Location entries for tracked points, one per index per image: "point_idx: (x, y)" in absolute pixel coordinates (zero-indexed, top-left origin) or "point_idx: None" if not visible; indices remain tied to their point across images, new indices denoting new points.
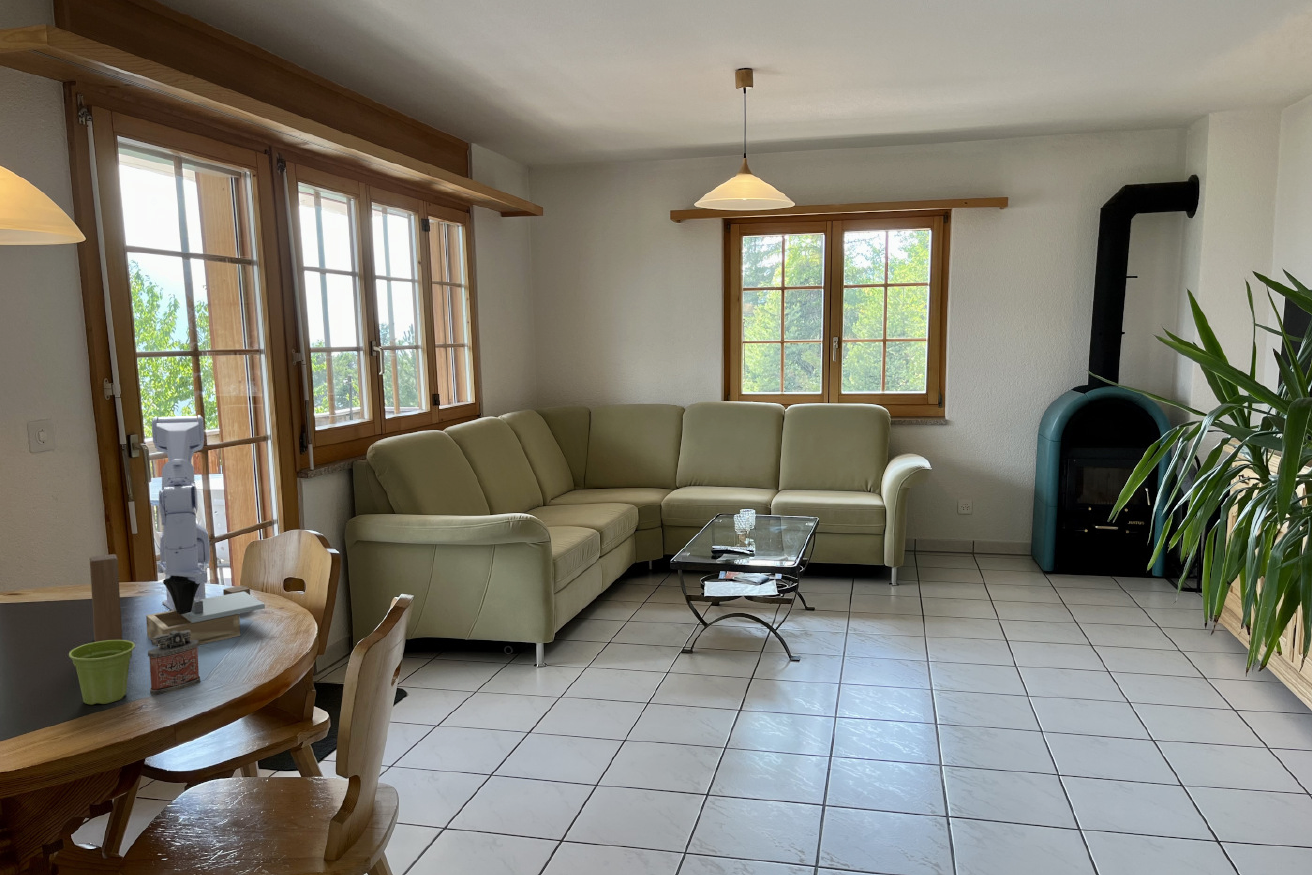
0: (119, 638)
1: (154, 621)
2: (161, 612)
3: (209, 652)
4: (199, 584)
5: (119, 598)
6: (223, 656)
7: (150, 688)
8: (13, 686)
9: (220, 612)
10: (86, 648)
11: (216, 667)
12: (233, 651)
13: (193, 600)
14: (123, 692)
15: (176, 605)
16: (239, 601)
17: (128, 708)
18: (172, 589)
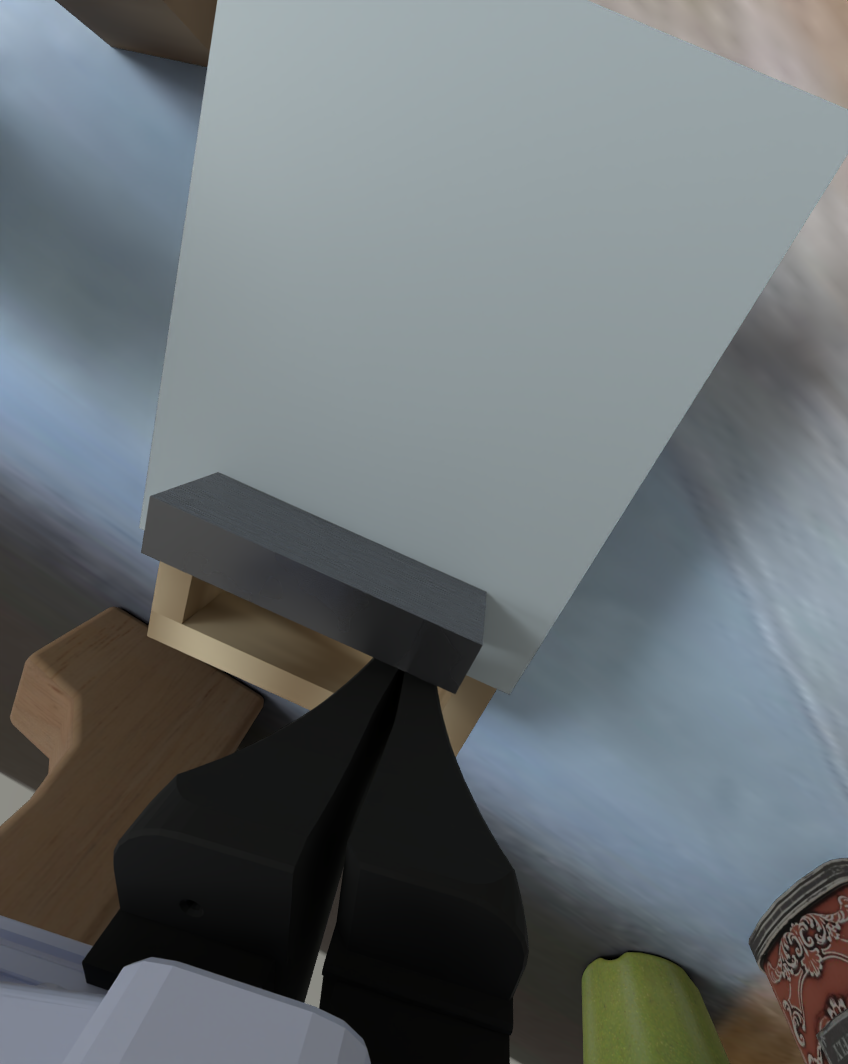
0: (244, 732)
1: (282, 694)
2: (158, 573)
3: (654, 635)
4: (495, 841)
5: (97, 924)
6: (769, 653)
7: (763, 971)
8: (322, 950)
9: (605, 540)
10: None
11: (837, 755)
12: (773, 589)
13: (439, 702)
14: (705, 1006)
15: (379, 759)
16: (515, 217)
17: (776, 1023)
18: (326, 920)
